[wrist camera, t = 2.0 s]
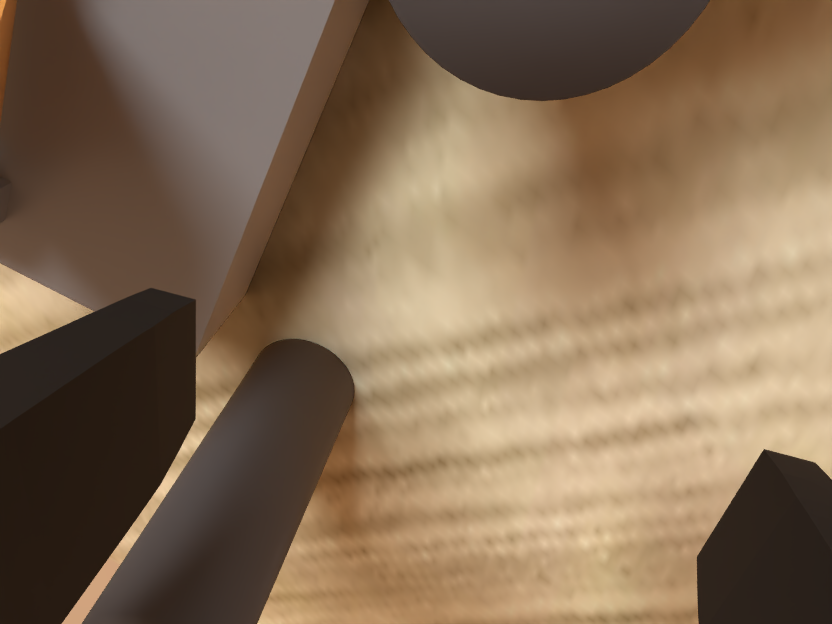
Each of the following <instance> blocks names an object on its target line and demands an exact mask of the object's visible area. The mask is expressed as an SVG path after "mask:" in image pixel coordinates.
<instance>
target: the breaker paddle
mask: <svg viewBox="0 0 832 624" xmlns="http://www.w3.org/2000/svg"><path fill="white" fill-rule="evenodd" d="M16 4H17V0H0V122H1V114H2V107H3V100H4V92H5V85H6V78H7V70H8V63H9V56H10V48H11V41H12V34H13V26H14V19H15V12H16Z"/></svg>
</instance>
